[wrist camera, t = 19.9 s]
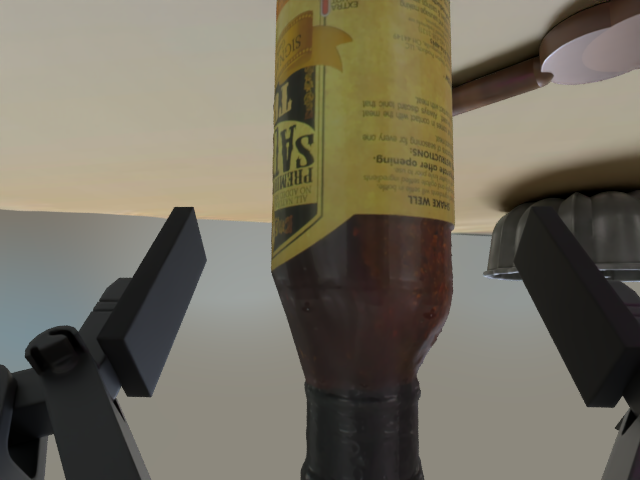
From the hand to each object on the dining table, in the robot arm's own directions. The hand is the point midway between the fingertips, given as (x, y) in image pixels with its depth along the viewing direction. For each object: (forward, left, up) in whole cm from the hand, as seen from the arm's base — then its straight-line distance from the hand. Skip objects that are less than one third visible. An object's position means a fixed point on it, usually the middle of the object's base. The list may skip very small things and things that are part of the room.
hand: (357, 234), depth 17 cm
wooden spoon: (+1, -10, -10) cm, 15 cm away
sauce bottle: (+1, +2, -11) cm, 11 cm away
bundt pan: (+3, -51, -11) cm, 52 cm away
